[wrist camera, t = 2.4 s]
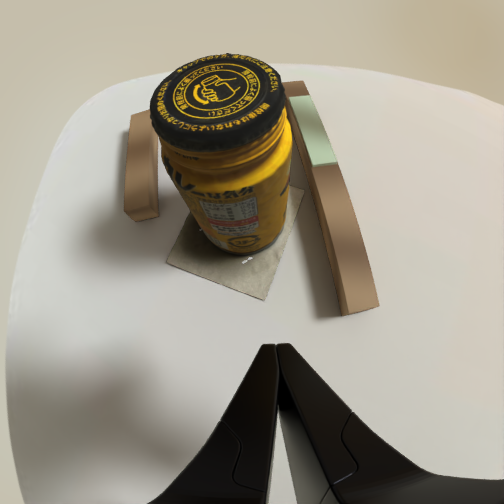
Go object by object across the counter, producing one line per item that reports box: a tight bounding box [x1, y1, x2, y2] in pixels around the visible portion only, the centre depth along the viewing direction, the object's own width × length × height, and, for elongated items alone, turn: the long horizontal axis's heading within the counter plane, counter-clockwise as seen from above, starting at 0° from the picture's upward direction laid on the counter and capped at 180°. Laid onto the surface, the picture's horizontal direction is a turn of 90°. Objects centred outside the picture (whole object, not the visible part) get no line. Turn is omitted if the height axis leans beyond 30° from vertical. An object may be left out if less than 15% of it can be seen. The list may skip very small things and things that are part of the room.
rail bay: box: [124, 81, 379, 316], centre depth 20 cm, size 19×16×2 cm
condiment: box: [150, 53, 305, 300], centre depth 15 cm, size 7×8×12 cm
